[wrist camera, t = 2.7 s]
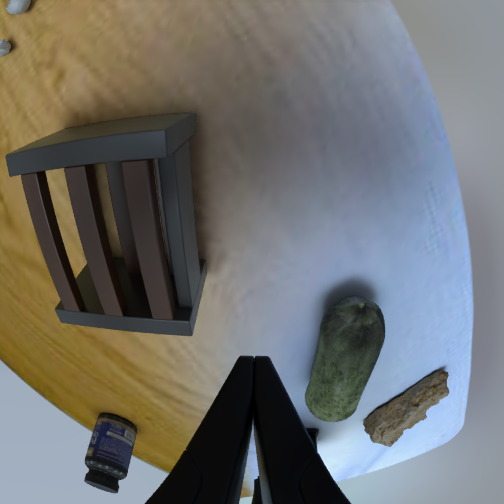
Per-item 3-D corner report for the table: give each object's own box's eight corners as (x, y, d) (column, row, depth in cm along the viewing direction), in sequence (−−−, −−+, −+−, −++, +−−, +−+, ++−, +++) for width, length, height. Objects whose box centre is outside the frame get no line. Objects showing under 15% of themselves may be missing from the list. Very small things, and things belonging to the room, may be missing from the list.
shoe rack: (195, 111, 16) (165, 128, 11) (206, 273, 22) (192, 336, 17) (64, 128, 16) (4, 155, 11) (95, 270, 22) (60, 323, 17)
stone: (474, 392, 27) (456, 361, 30) (453, 402, 23) (432, 365, 27) (397, 444, 33) (384, 416, 37) (366, 456, 30) (352, 424, 34)
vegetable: (360, 422, 25) (311, 436, 24) (342, 382, 29) (296, 393, 28) (409, 318, 18) (341, 334, 17) (373, 273, 22) (312, 282, 21)
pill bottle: (96, 407, 34) (75, 474, 25) (138, 421, 35) (121, 491, 26) (100, 424, 38) (82, 484, 28) (137, 436, 38) (123, 497, 29)
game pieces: (-4, 56, 12) (15, 60, 13) (-18, 58, 11) (1, 62, 11) (43, -41, 9) (63, -39, 10) (32, -48, 7) (53, -46, 8)
